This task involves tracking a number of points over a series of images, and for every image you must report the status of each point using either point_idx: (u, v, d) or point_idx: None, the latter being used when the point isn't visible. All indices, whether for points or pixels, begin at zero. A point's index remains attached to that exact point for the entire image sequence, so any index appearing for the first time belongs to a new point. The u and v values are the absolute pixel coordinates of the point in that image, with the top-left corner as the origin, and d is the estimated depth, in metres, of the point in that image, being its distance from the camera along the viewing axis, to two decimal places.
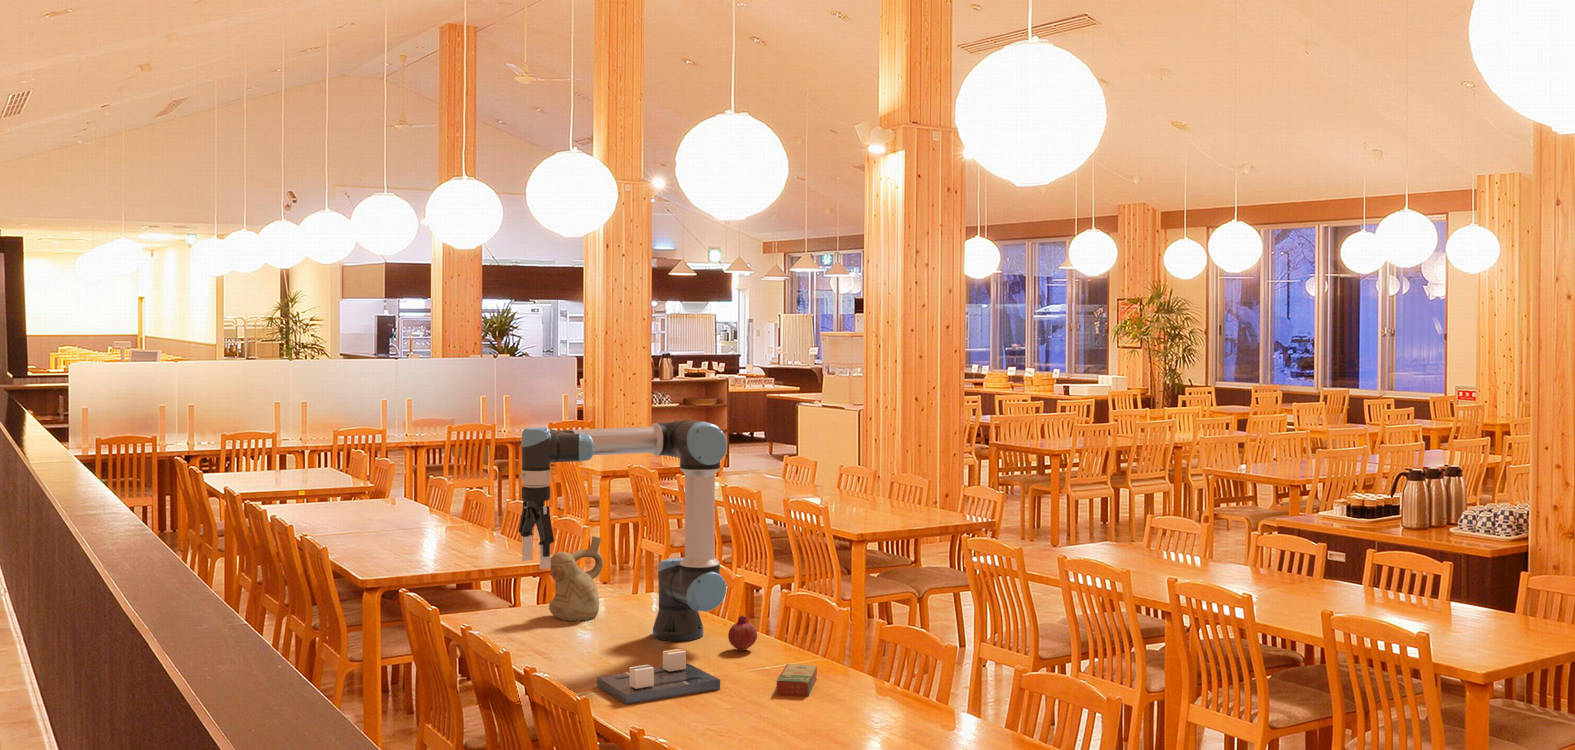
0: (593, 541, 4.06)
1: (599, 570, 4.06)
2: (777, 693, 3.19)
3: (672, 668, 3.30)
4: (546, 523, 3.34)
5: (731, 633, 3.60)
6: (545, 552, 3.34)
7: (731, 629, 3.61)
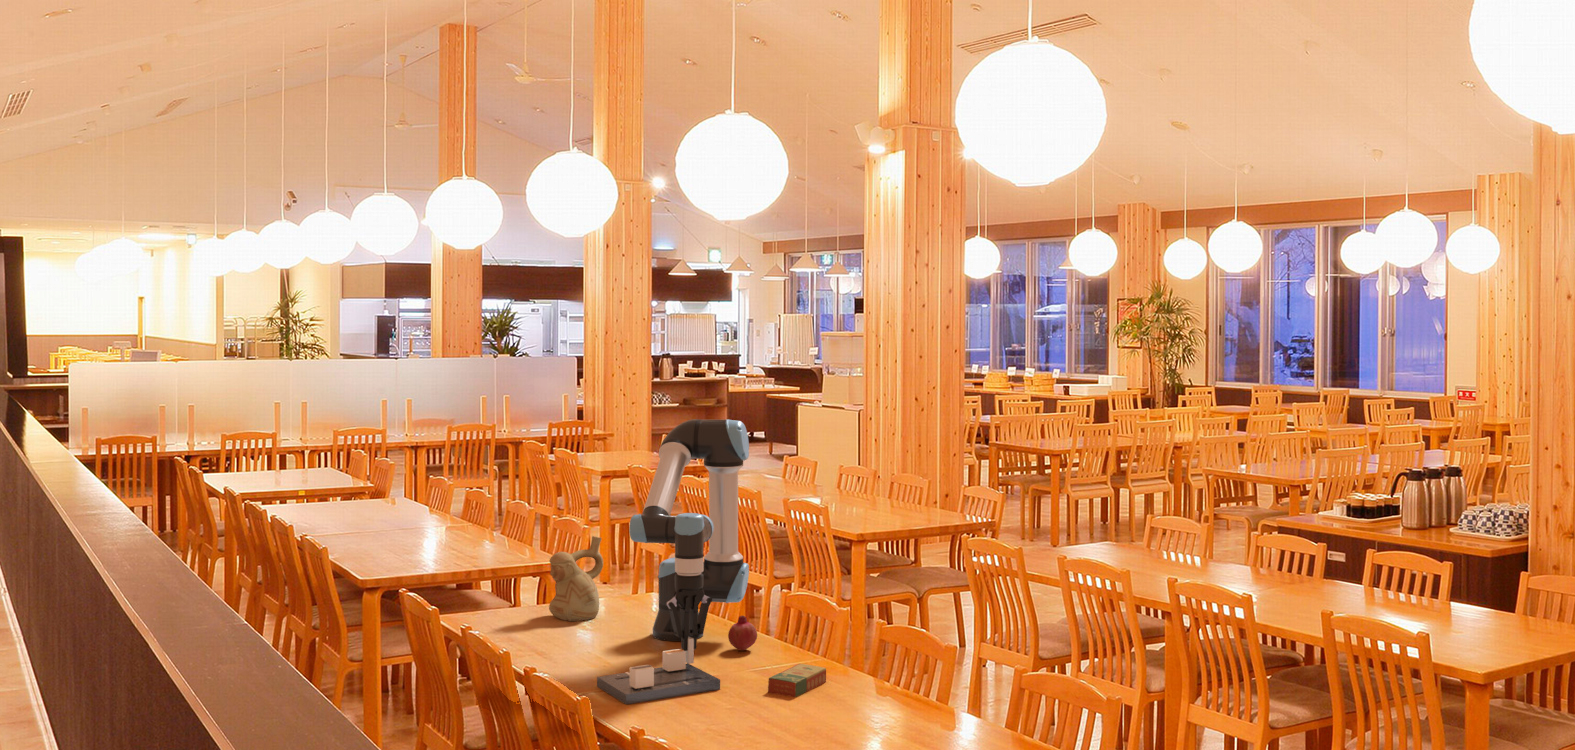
0: (593, 541, 4.06)
1: (599, 570, 4.06)
2: (768, 690, 3.21)
3: (672, 668, 3.30)
4: (672, 618, 3.31)
5: (731, 633, 3.60)
6: (681, 645, 3.33)
7: (731, 629, 3.61)
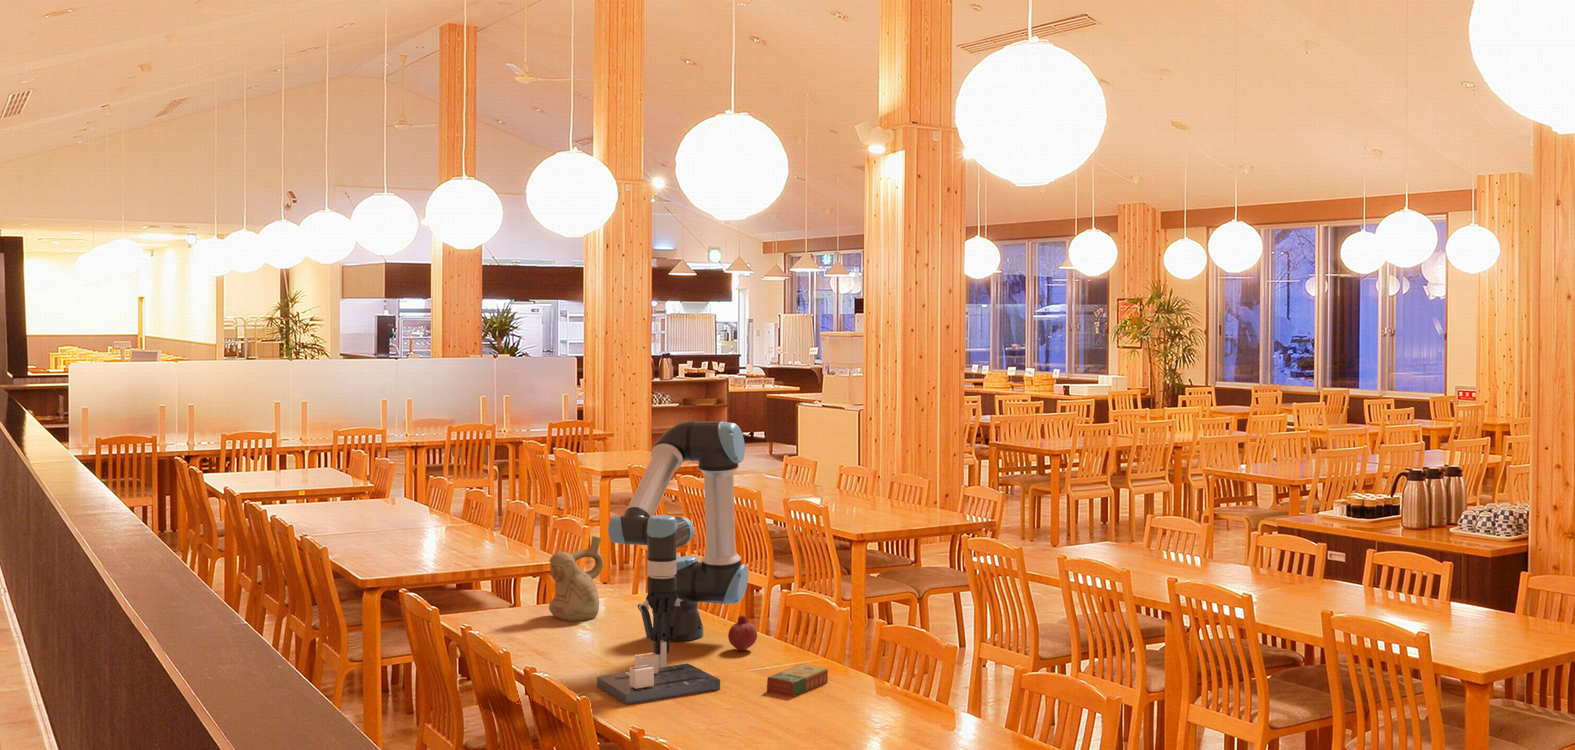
0: (593, 541, 4.05)
1: (599, 570, 4.06)
2: (767, 690, 3.22)
3: None
4: (645, 621, 3.27)
5: (731, 633, 3.60)
6: (654, 649, 3.29)
7: (731, 629, 3.61)
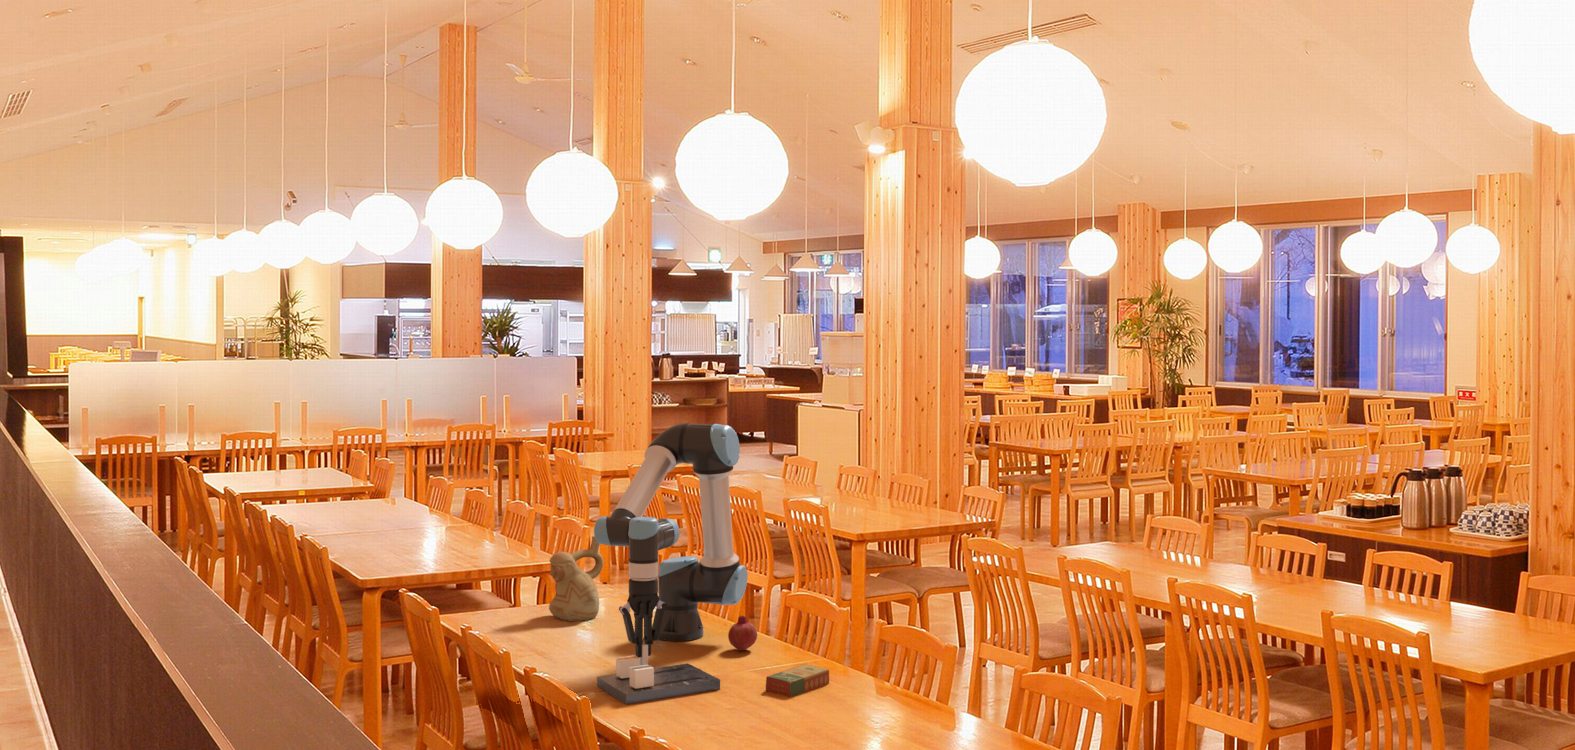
0: (593, 541, 4.05)
1: (599, 570, 4.06)
2: (766, 689, 3.22)
3: (625, 675, 3.23)
4: (626, 624, 3.24)
5: (731, 633, 3.60)
6: (635, 652, 3.27)
7: (731, 629, 3.61)
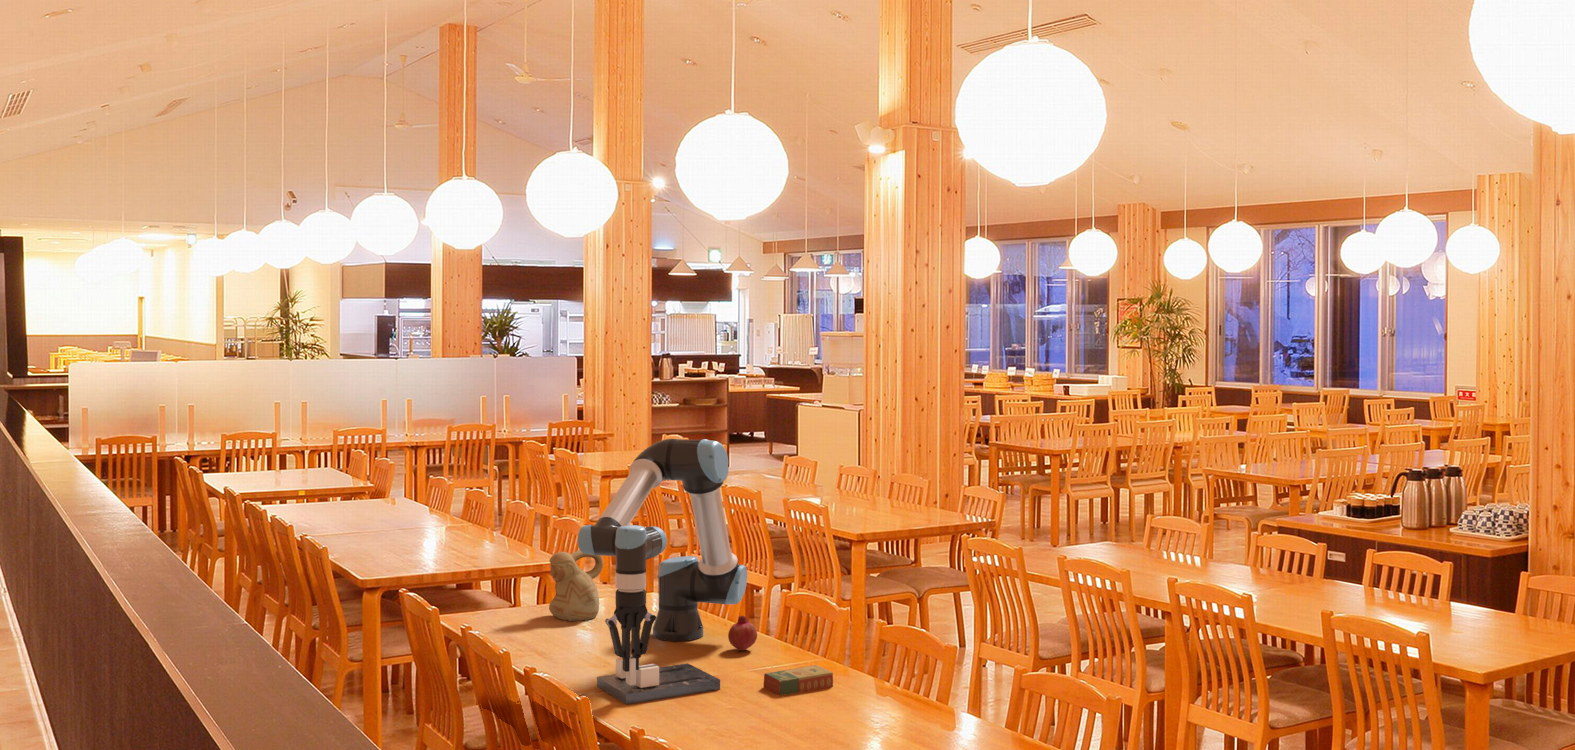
0: None
1: (599, 570, 4.06)
2: (764, 686, 3.25)
3: (625, 675, 3.23)
4: (613, 637, 3.12)
5: (731, 633, 3.60)
6: (623, 666, 3.14)
7: (731, 629, 3.61)
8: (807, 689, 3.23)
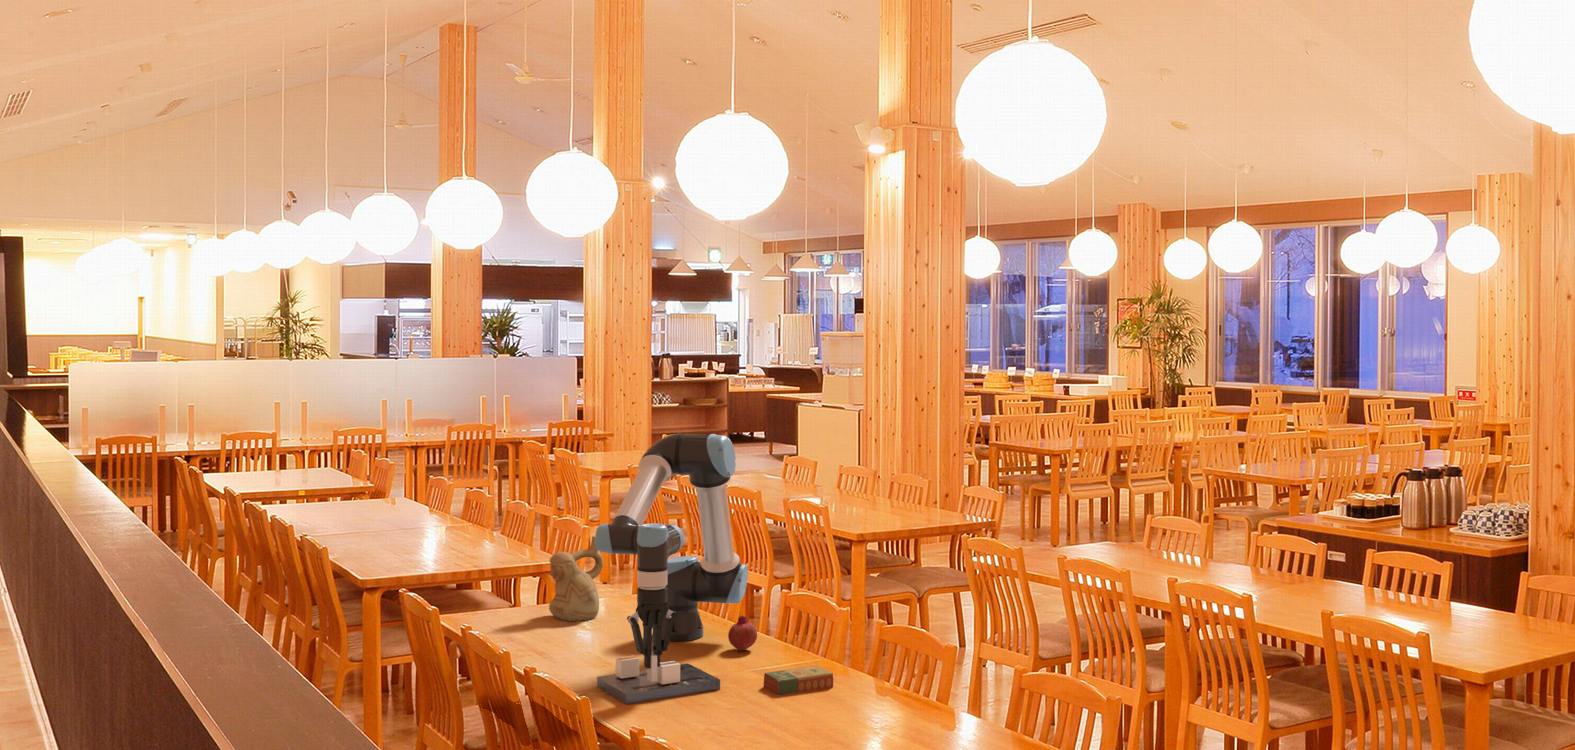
0: (593, 541, 4.05)
1: (599, 570, 4.06)
2: (764, 685, 3.26)
3: (625, 675, 3.23)
4: (634, 634, 3.15)
5: (731, 633, 3.60)
6: (644, 662, 3.17)
7: (731, 629, 3.61)
8: (806, 689, 3.23)
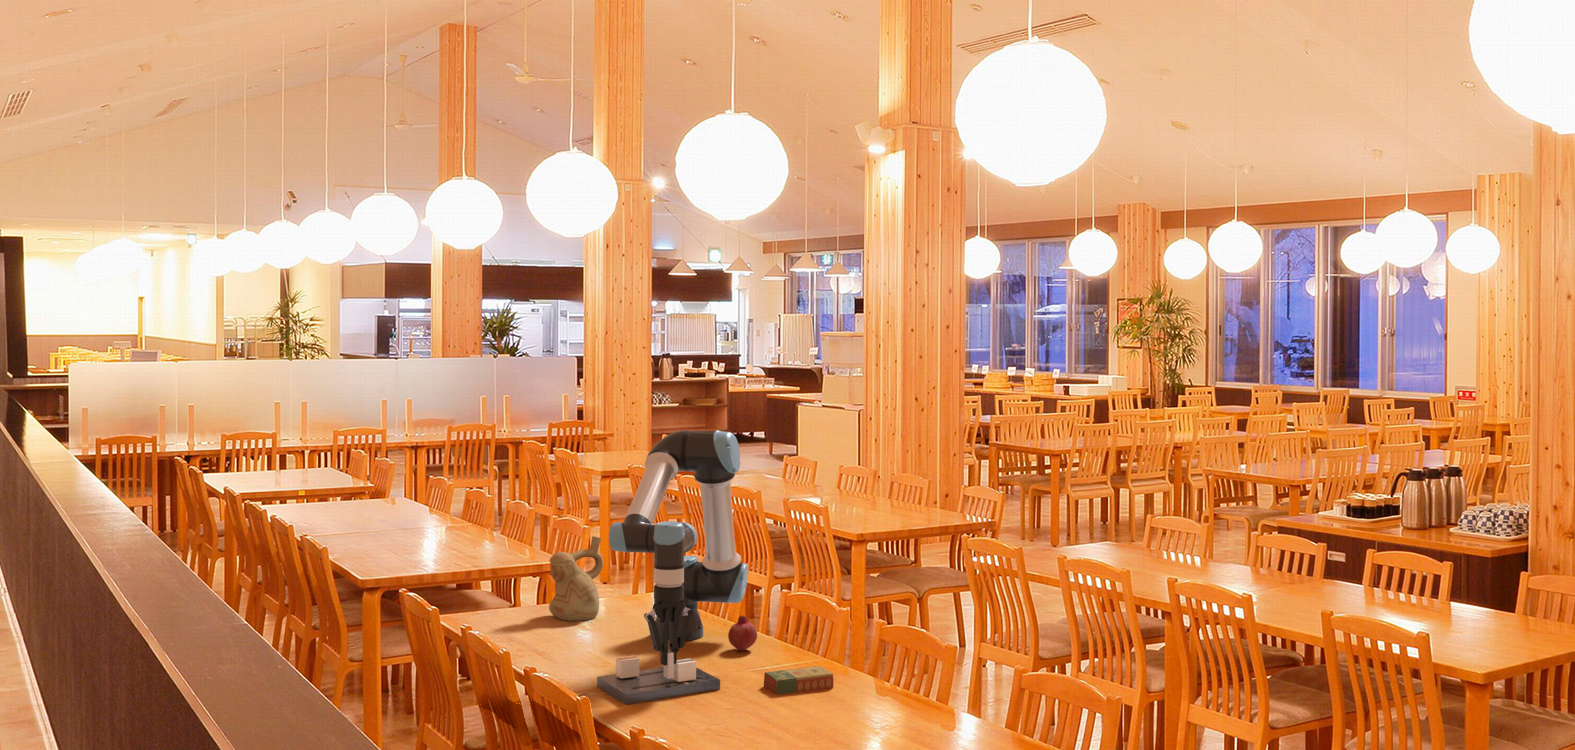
0: (593, 541, 4.05)
1: (599, 570, 4.06)
2: (764, 684, 3.26)
3: (625, 675, 3.23)
4: (651, 631, 3.17)
5: (731, 633, 3.60)
6: (661, 660, 3.19)
7: (731, 629, 3.61)
8: (805, 689, 3.23)
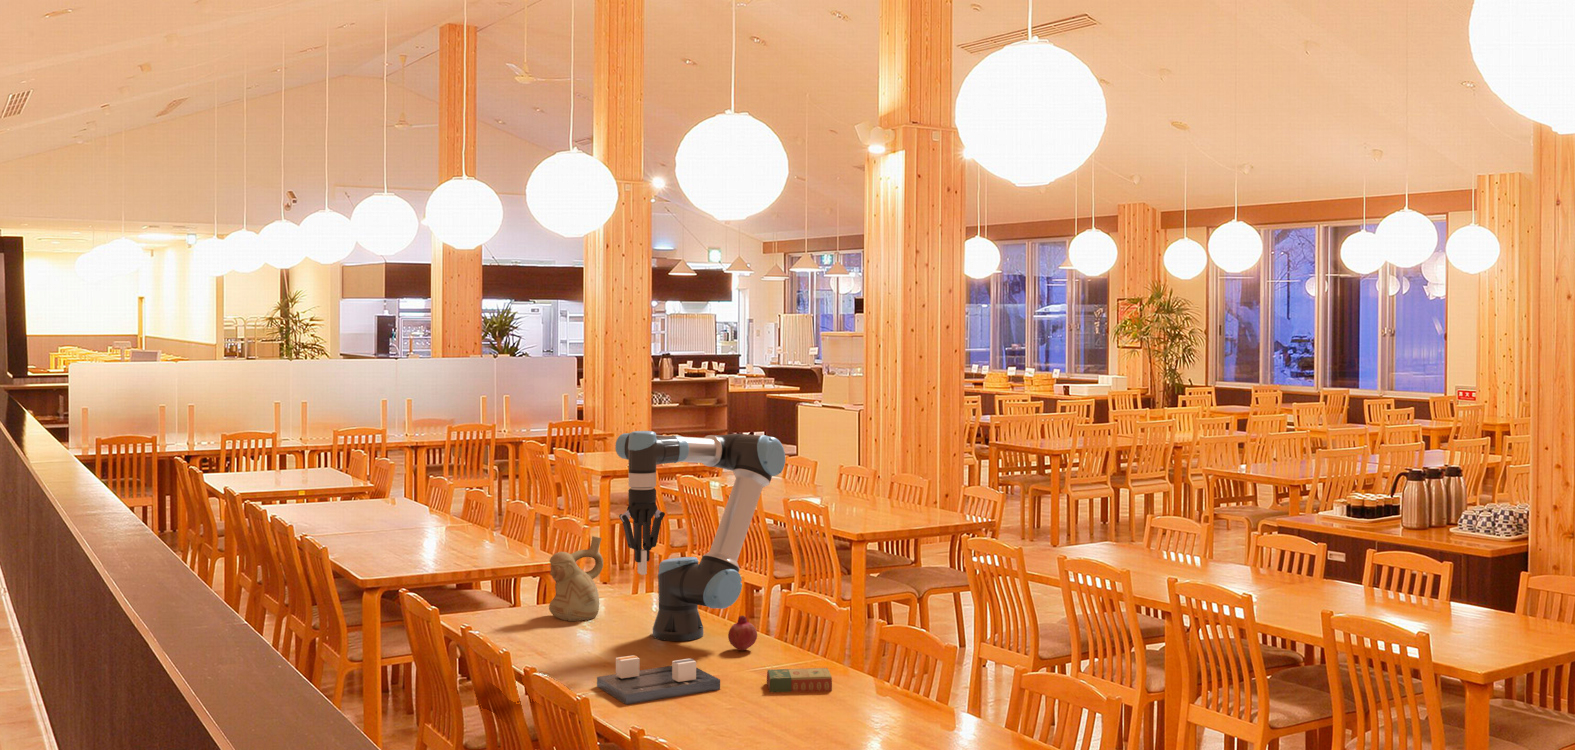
0: (593, 541, 4.06)
1: (599, 570, 4.06)
2: None
3: (625, 675, 3.23)
4: (626, 530, 3.45)
5: (731, 633, 3.60)
6: (635, 557, 3.48)
7: (731, 629, 3.61)
8: (801, 690, 3.22)
